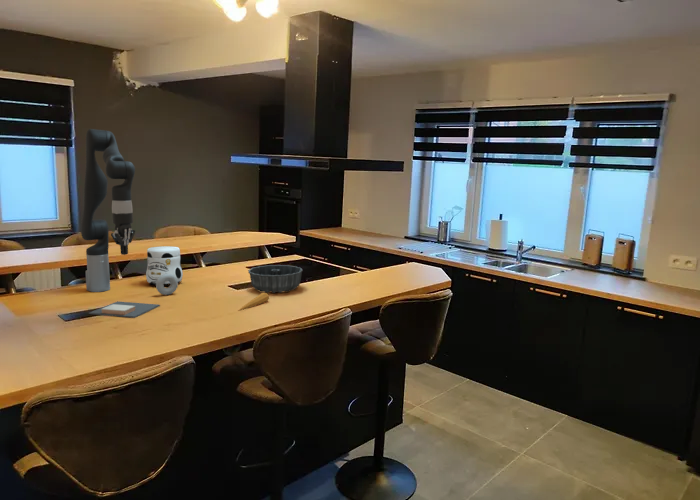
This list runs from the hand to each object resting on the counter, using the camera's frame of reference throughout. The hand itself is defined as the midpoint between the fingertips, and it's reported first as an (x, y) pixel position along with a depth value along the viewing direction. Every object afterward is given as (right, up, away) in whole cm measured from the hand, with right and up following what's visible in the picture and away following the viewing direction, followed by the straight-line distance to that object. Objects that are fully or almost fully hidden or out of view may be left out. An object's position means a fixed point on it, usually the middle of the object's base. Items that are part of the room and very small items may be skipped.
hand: (124, 254), depth 204 cm
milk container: (-2, -15, +50) cm, 53 cm away
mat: (-1, -23, +3) cm, 23 cm away
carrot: (+49, -23, +14) cm, 56 cm away
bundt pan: (+55, -18, +44) cm, 72 cm away
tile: (-1, -22, +1) cm, 22 cm away
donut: (+7, -19, +28) cm, 35 cm away
